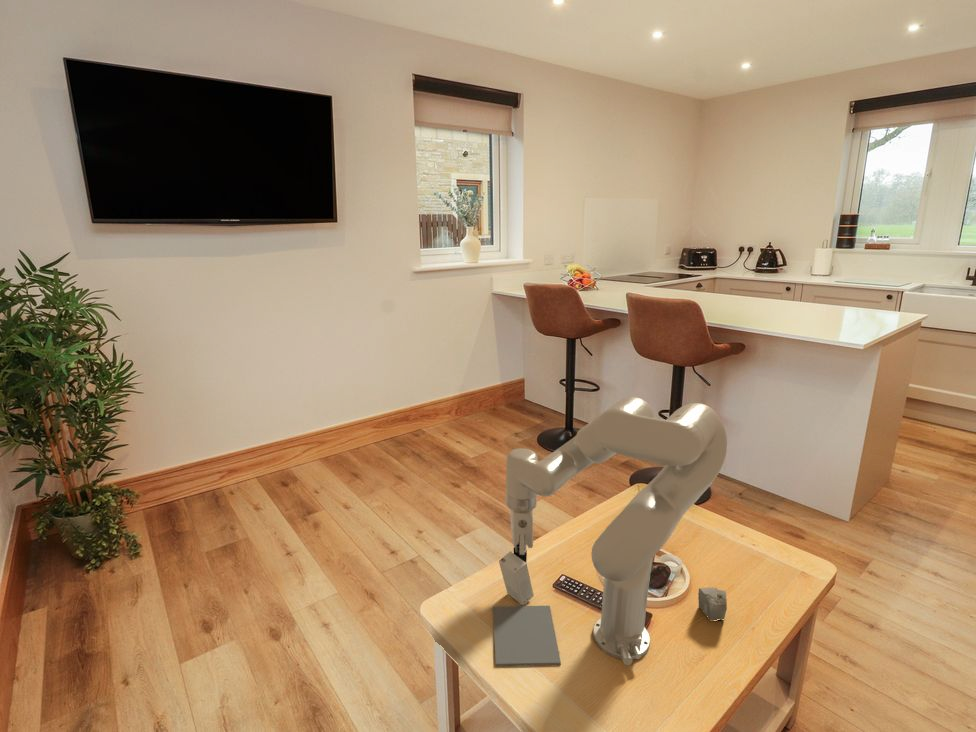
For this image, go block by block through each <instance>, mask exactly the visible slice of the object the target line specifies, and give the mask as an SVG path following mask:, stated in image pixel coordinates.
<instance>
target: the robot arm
mask: <svg viewBox="0 0 976 732" xmlns="http://www.w3.org/2000/svg"><path fill="white" fill-rule="evenodd" d="M727 449H728V437H727V433H726V429H725V426H724V423H723V421H722V419H721V418H720V416H719V415H718V413H717V412H716V411H715V410H714V409H713V408H712V407H711V406H708V405H707V404H704V403H697V402H693V403H687V404H685V405H683V406H681V407H679V408H677V409H676V410H675V411H674V412H673V413H672V414H671V415H669V416H668V417H667V418H666V419H661V418H655V415H654V411H653V409H652V407H651V405H650V404H649V403H648V402H647V401H646V400H644V399H642V398H640V397H637V396H630V397H629V396H628V397H624V398H622V399H620V400H618V401H617V402H616V403H614V404H613V405H612V406H610V407H609V408H607V409H606V410H605V411H603V413H601V414H599V415H598V416H596V417H595V418H594V419H593V420H591V421H590V422H589V423H587V424H586V425H584V426H583V427H581V428H580V429H578V431H577V433H576V435H575V436H573V438H571V439H570V440H568V441H566V442H565V443H564V444H563V445H561V446H560V447H558V448H556V449H555V450H554V451H553V452H551V453H550V454H548V455H547V456H545V458H543V459H540V460H539V458H538V457H539V456H538V455H537V453H536V452H535V451H533V450H532V449H530V448H529V449H528V448H520V447H519V448H514V449H512V450H510V451H509V452H508V453H507V456H506V461H505V462H506V464H505V466H506V470H505V471H506V472H505V481H506V482H505V506H506V508H507V509H509V510H510V530H511V531H510V532H511V539H512V545H513V554H515V555H516V556H517V557H519V558H520V559H521V560H523V561H524V562H526V563H527V559H528V558H527V557H528V553H527V551H528V550H527V548H529V549H532V548H533V547H534V512H533V510H535V509H536V508H537V503H538V502H537V499H538V498H537V497H538V496H542V497H551V496H553V495H554V494H555V493H557V492H558V490H560V489H561V488H562V487H563V486H565V485H566V483H568V482H569V481H570V480H572V478H574V477H575V476H576V475H578V474H580V473H581V472H582V471H584V470H585V469H587V468H588V467H590V466H592V464H603V463H605V462H607V461H608V460H609V459H611V458H612V457H614V456H616V455H622V456H626V457H630V458H632V459H633V458H634V459H637V460H641V461H642V460H643V461H647V462H652V463H656V464H660V465H664V467H662V469H661V470H660V471H659V472H658V474H657V475H656V476H655V477H654V478H653V479H652V480H651V481H650V482H648V484H646V485H645V486H644V487H643V488H642V489H641V490H640V491H639V492H637V493H636V494H635V495H634V497H633V498H632V499H631V500H630V501H629V503H628V504H627V505H626V506H625V507H624V508H623V510H622V511H621V512H620V513H619V514H618V515H617V516H616V517H614V518H613V520H612V521H611V522H610V523H609V524H608V525H607V527H606V528H605V529H604V530H603V531H602V532H601V534H600V535H599V536H598V538H596V540H595V541H594V542H593V545H592V547H591V552H590V553H591V554H590V555H591V561H592V564H593V566H594V568H595V570H596V572H597V573H598V574H599V575H600V576H601V577H603V578H604V579H603V592H602V600H601V601H602V603H601V616H600V618H598V619H597V620H596V621H595V623H594V624H593V628H592V629H593V630H592V634H593V639H594V641H595V643H596V645H597V647H598V648H600V650H601V651H603V652H604V653H605V654H607V655H608V656H611V657H613V658H615V659H620V660H622V662H623V664H624V665H626V666H628V665H629V666H630V665H631V664H632V663H633V660H639V659H641V658H642V657H643V656H644V655H645V654H646V653H647V652H648V651H649V649H650V645H651V637H650V633H649V632H648V630H647V629H646V627H645V622H646V615H647V614H646V613H647V606H648V605H647V604H648V598H649V597H648V595H649V587H650V579H651V572H652V566H653V560H654V556H655V555H656V554H657V553H658V552H660V551H661V549H662V548H663V547H664V546H665V545H666V543H667V542H668V540H669V539H670V538H671V536H672V534H673V533H674V531H675V530H676V529H677V526H678V525H679V523H680V521H681V520H682V518H683V517H684V515H685V514H686V512H687V511H688V510H690V508H691V507H692V506H693V505H694V504H695V503H696V502H698V500H699V499H700V498H701V496H702V495H703V494H704V493H705V492H706V491H707V490H708V489H709V488H710V486H711V485H712V483H713V482H714V481H715V479H717V477H718V475H719V474H720V472H721V470H722V468H723V465H724V463H725V460H726V455H727Z"/></svg>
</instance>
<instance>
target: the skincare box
mask: <svg viewBox="0 0 976 732" xmlns="http://www.w3.org/2000/svg"><path fill="white" fill-rule="evenodd" d="M498 564H499V568H500V571H501V574H502V579H503V582H504V586H505V589H506V593H507V594H508V595H509V596H511V597H512V598H513V599H514V600H515V601H516V602H517V603H518V604H520V606H525V605H526V604H527V603H528V602H529V601H531V599H533V598H534V590H533V586H532V583H531V582H532V581H531V577H530V573H529V568H528V564H527V562H524V561H523V560H521V559H520V558H519V557H517V556H516V555H515V554H514V552H512V551H508V553H507V554H505V555H504V556H502V558H501V559H500V560H498Z"/></svg>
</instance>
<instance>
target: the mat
mask: <svg viewBox="0 0 976 732" xmlns="http://www.w3.org/2000/svg"><path fill="white" fill-rule="evenodd" d="M492 613H493V614H492V616H493V617H492V618H493V634H494V635H493V636H494V658H495V667H512V666H513V667H515V666H516V667H517V666H561V664H562V662H561V657H560V651H559V645H558V642H557V637H556V631H555V625H554V620H553V615H552V610H551V606H550V605H523V606H522V605H512V606H511V605H503V606H502V605H501V606H496V605H495V606H494V605H493V606H492Z"/></svg>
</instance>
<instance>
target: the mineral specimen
mask: <svg viewBox="0 0 976 732" xmlns="http://www.w3.org/2000/svg"><path fill="white" fill-rule="evenodd" d="M697 595H698V597H697V598H698V607H699V608H700V609H701V611H702V610H703V611H704V613H705V614H706V615H707V616H708V618H709V619H710V620H717V619H720V620H722V619H724V620H725V618H726V612H727V609H728V605H727V592H726V590H724V589H723V590H722V589H718V588H717V587H713V586H712V587H699V588H698V594H697ZM703 611H702V612H703ZM704 613H703V614H704ZM705 614H704V615H705ZM706 615H705V616H706ZM707 616H706V617H707ZM708 618H707V619H708ZM709 619H708V620H709ZM710 620H709V621H710Z"/></svg>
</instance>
